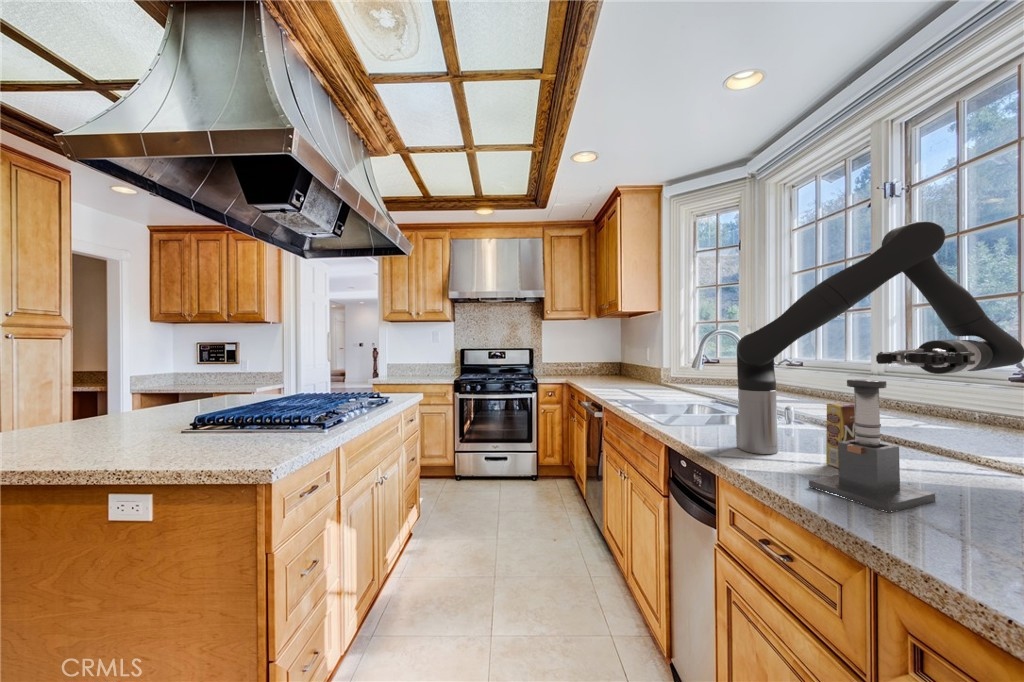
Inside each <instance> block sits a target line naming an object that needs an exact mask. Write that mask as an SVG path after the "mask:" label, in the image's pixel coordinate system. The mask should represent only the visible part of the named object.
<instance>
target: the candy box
mask: <svg viewBox="0 0 1024 682" xmlns="http://www.w3.org/2000/svg"><path fill="white" fill-rule="evenodd" d="M854 421H855V409H854V402H848V403H847V402H845V403H826V438H825V439H826V441H825V442H826V450H825V451H826V454H825V455H826V457H825V458H826V459H825V460H826V461H825V463H826V465H828V466H830V467H834V468H837V469H839V465H838V442H843V441H849V440H855V435H854V431H855V425H854Z"/></svg>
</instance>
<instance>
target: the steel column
mask: <svg viewBox="0 0 1024 682" xmlns="http://www.w3.org/2000/svg"><path fill="white" fill-rule="evenodd" d="M846 386H847V387H849V388H853V400H854V401H853V403H854V409H855V421H854V425H855V431H854V435H855V445H860V446H865V447H869V448H880V443H881V438H882V434H881V428H882V423H881V417H880V413H881V412H880V410H881V409H880V389H887V381H886V380H881V379H879V380H878V379H863V378H862V379H860V378H858V379H856V378H855V379H854V378H852V379H846Z"/></svg>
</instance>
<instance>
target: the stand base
mask: <svg viewBox="0 0 1024 682" xmlns="http://www.w3.org/2000/svg"><path fill="white" fill-rule="evenodd" d="M838 465H839V468H838V474H836V475H829V476H824V477H819V478H814V479H809V480H808V487H809V486H810V487H813V488H817V489H820V490H823V491H827V492H829V493H833V494H837V495H839V496H842V497H845V498H847V499H850V500H853V501H855V502H854V503H856V502H859V503H862V504H865V505H868V506H871V507H870V508H872V507H874V508H873V509H875V508H877V509H876V510H878V509H880V510H879V511H881V510H884V511H887V512H891V511H895V512H897V511H896V510H899V511H902V510H901V509H903V510H905V509H906V508H907V509H910V508H914V507H918V506H919V507H920V506H922V505H926V504H930V503H934V502H936V493H935V492H933V491H932V492H931V491H928V490H923V489H920V488H916V487H912V486H908V485H905V484H901V477H900V470H901V469H900V468H901V467H900V466H901V465H900V446H899V445H898V446H897V445H893V444H889V443H883V442H880V448H869V447H865V446H860V445H855V440H849V441H843V442H838ZM810 487H809V488H810ZM813 488H812V489H813ZM847 499H846V500H847ZM850 500H849V501H850ZM853 501H852V502H853ZM859 503H858V504H859ZM862 504H861V505H862ZM865 505H864V506H865ZM868 506H867V507H868ZM907 509H906V510H907ZM884 511H883V512H884ZM887 512H886V513H887ZM891 513H892V512H891Z"/></svg>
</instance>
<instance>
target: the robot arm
mask: <svg viewBox="0 0 1024 682" xmlns="http://www.w3.org/2000/svg"><path fill="white" fill-rule="evenodd" d="M945 241H946V232H945V229H944V228H943V226H941V225H940V224H938V223H936V222H933V221H928V220H927V221H926V220H924V221H923V220H922V221H914V222H909V223H907V224H904V225H900V226H897V227H895V228H892V229H891V230H890V231H888V232H887V233H886V234H885V236H883V239H882V240H881V246H880V247H879V248H877V249H876V250H875V251H873V253H871V254H870V255H868V256H867V257H865V258H864V259H862V260H860V261H858V262H856V263H854V264H851V265H850V266H848V267H846V268H844V269H842V270H840V271H838V272H836V273H834V274H833V275H831V276H828V277H827V278H826V279H824V280H822V281H821V282H820V283H818V284H816V286H814V287H812V288H811V289H810V290H809V291H807V292H806V293H805V294H803V295H802V296H800V297H799V298H798V299H797V300H796V301H795V302H794V303H792V305H790V306H789V308H787V309H786V310H785V311H784V312H783V313H782V314H781V315H780V316H778V317H777V318H775V319H774V320H772V321H770V322H769V323H768V324H766V325H764V326H763V327H761V328H758V329H757V330H755V331H753V332H751V333H748V334H745V335H744V336H743V337H741V338H740V339H739V341H738V342H737V344H736V365H737V367H736V368H737V369H736V370H737V371H736V373H737V374H736V375H737V388H738V389H737V390H738V396H737V398H738V413H737V414H735V433H736V435H735V437H736V443H735V444H736V448H738V449H740V450H741V451H744V452H747V453H752V454H758V455H759V454H760V455H774V454H777V453H778V452H779V451H778V450H779V449H778V446H779V445H778V415H777V414H778V412H777V409H778V408H777V407H778V406H777V405H778V404H777V381H776V375H775V358H776V357H777V356H779V355H780V353H782V352H783V351H784V350H786V349H787V348H788V347H790V346H791V345H792V344H793V343H795V342H796V341H797V340H799V339H800V338H802V337H804V336H805V335H808V334H809V333H811V332H813V331H815V330H818V328H820V327H822V326H825V325H826V324H827V323H829V322H831V321H832V320H834V319H836V318H837V317H838V316H840V315H842V314H844V313H845V312H846V311H848V310H849V309H852V307H854V306H855V305H856V304H858V303H859V302H861V301H862V300H864V299H865V298H866V297H868V296H870V294H872V293H873V292H875V291H876V290H877V289H879V288H880V287H881V286H883V285H884V284H885V283H886V282H888V281H889V280H891V279H892V278H894V277H896V276H897V275H899V274H901V273H902V274H904V275H905V276H906V277H907V278H908V279H909V280H910V282H911V283H912V284H913V285H914V286H915V287H916V289H918V290H919V292H920V293H921V295H922V296H923V297H924V298H925V299H926V301H927V302H928V303H929V305H930V306H931V308H932V309H933V311H934V312H935V314H936V315H937V316H938V317H939V319H940V321H941V322H942V323H943V325H944V326H945V328H946V329H947V330H948V332H949V333H950V334H951V335H953V336H954V337H978V338H980V339H979V340H974V339H961V340H960V339H933V340H929V341H926V342H924V343H922V344H920V345H919V347H918V348H914V349H901V350H894V351H885V352H884V351H879V352H877V355H875V359H876V360H875V362H876V363H877V364H879V365H884V364H885V365H886V364H888V365H892V364H897V366H902V367H903V366H906V367H907V366H914V367H917V368H920V369H922V370H924V372H927V373H930V374H935V375H943V374H944V375H945V374H956V373H963V372H966V371H967V372H977V371H978V372H979V371H984V370H990V369H991V370H992V369H997V368H1003V367H1009V366H1014V365H1018V364H1020V363H1021V362H1022V361H1024V346H1023V345H1022V343H1021V342H1020V341H1019V340H1017V339H1016V338H1015V337H1014V336H1012V335H1011V334H1010V333H1008V332H1007V331H1005V330H1004V329H1003V328H1001V327H1000V325H999V324H996V323H995V322H994V321H993V320H992V319H990V318H989V316H988V315H987V313H986V312H985V311H984V310H983V308H982V307H981V306H980V304H979V302H978V301H977V300H976V299H975V297H974V296H973V295H972V294H971V293H970V292H969V291H968V290H967V289H966V288H965V287H963V285H961V284H960V283H959V282H958V281H956V280H955V279H954V278H952V276H950V275H949V274H948V273H947V272H946V271H945V270H944V269H943V268H942V267H941V266H940V264H939V263H938V262H937V261H936V258H935V256H934V255H935V254H937V252H939V251H940V249H941V248H942V247H943V245H944V243H945Z"/></svg>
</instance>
